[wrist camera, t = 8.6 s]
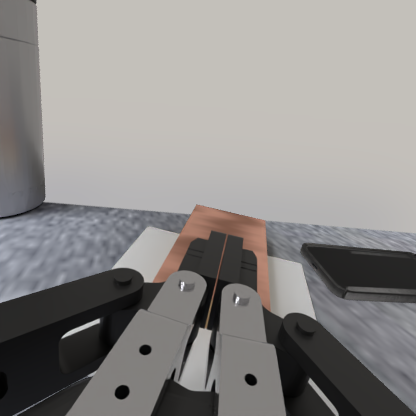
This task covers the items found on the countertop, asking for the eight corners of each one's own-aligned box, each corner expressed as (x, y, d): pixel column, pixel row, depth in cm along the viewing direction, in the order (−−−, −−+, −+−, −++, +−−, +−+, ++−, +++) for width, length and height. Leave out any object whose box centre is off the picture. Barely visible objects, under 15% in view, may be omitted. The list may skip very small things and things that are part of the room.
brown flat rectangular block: (152, 281, 16) (196, 204, 28) (148, 312, 17) (192, 225, 29) (270, 312, 16) (265, 220, 28) (260, 343, 17) (259, 241, 29)
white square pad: (37, 361, 14) (37, 355, 14) (147, 229, 28) (148, 226, 27) (346, 453, 13) (350, 447, 12) (300, 267, 26) (301, 263, 26)
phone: (485, 299, 26) (340, 291, 23) (478, 309, 26) (335, 302, 23) (415, 252, 33) (298, 241, 30) (410, 260, 33) (295, 250, 30)
